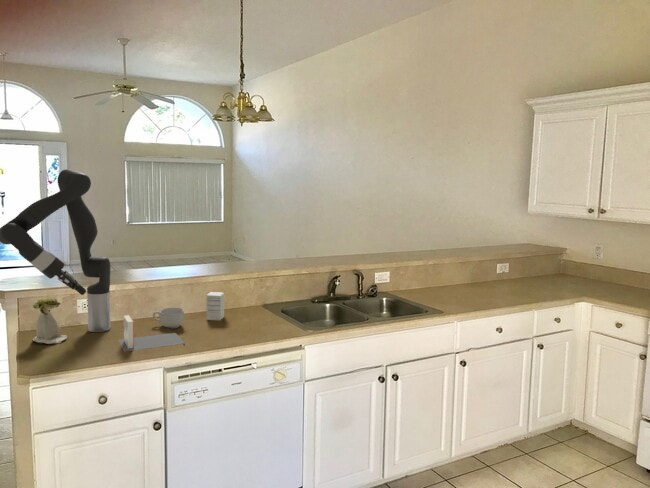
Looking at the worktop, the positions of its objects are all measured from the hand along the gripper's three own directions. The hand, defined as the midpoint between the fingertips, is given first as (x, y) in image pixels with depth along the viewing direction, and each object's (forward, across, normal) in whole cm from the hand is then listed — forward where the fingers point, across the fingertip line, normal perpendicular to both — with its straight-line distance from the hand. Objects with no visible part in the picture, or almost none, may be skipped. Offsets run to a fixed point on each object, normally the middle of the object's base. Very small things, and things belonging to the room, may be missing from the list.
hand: (84, 292), depth 200 cm
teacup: (+43, +20, -9) cm, 48 cm away
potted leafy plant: (+9, +20, +26) cm, 34 cm away
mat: (+35, -1, -1) cm, 35 cm away
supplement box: (+60, +25, -26) cm, 70 cm away
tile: (+28, -1, +5) cm, 28 cm away
